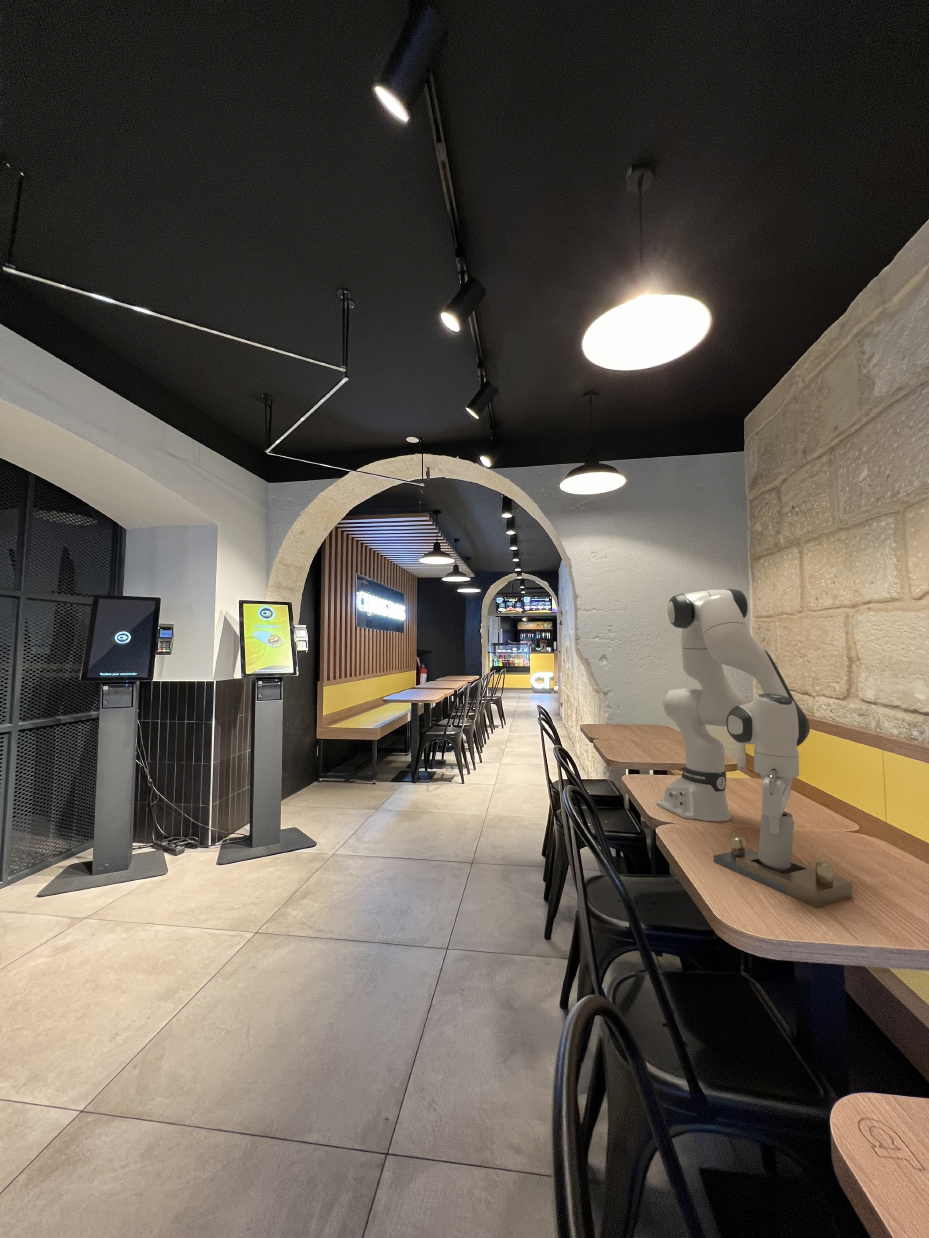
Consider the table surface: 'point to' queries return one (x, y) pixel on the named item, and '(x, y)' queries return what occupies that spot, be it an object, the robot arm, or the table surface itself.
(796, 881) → the plate with brass posts
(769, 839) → the beverage can
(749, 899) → the table surface
